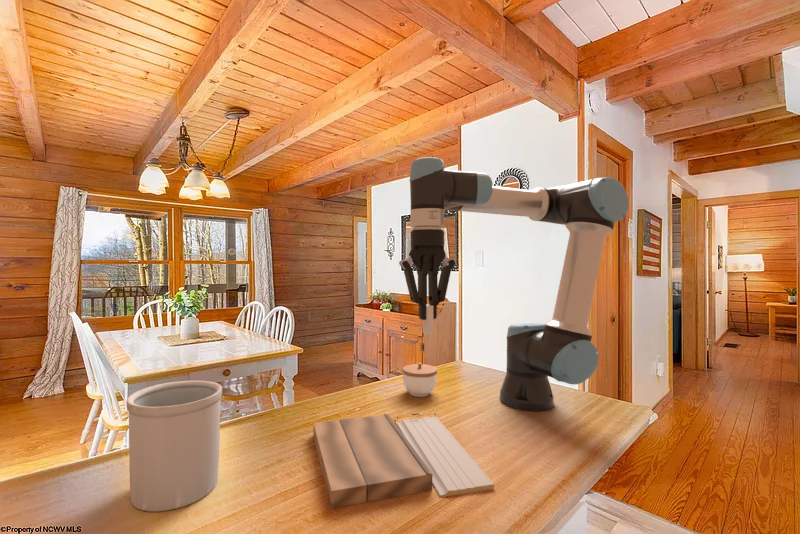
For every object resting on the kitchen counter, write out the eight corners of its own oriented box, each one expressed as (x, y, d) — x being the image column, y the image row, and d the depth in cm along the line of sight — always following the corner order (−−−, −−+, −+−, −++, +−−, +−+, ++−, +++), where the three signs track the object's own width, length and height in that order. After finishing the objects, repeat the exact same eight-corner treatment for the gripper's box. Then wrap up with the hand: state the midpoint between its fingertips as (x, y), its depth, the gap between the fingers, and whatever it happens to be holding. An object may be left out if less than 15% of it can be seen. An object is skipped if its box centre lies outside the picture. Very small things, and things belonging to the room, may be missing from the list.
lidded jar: (400, 388, 128) (400, 359, 127) (433, 387, 129) (433, 358, 128) (404, 400, 117) (404, 368, 117) (439, 399, 118) (440, 368, 118)
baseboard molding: (432, 501, 70) (494, 492, 73) (432, 485, 70) (494, 476, 73) (390, 427, 100) (435, 422, 103) (391, 415, 100) (436, 411, 103)
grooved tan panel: (388, 426, 99) (388, 413, 99) (432, 490, 72) (432, 472, 72) (313, 435, 93) (313, 422, 93) (331, 508, 67) (331, 490, 66)
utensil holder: (155, 467, 79) (155, 379, 78) (233, 465, 80) (233, 378, 79) (106, 516, 64) (105, 408, 63) (202, 513, 65) (202, 407, 64)
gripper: (406, 227, 83) (406, 339, 84) (461, 228, 88) (461, 334, 89) (394, 229, 90) (395, 332, 91) (446, 230, 95) (446, 328, 96)
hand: (427, 333), depth 90 cm, fingers closed
